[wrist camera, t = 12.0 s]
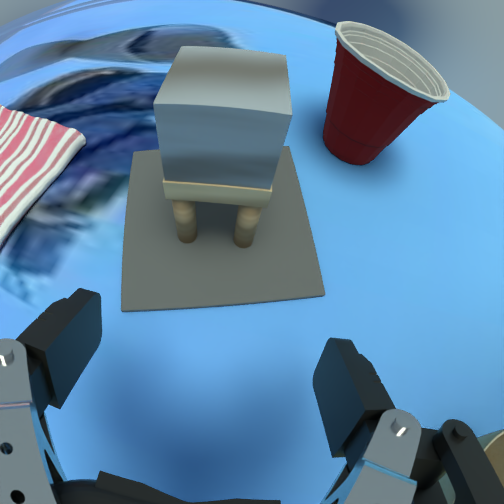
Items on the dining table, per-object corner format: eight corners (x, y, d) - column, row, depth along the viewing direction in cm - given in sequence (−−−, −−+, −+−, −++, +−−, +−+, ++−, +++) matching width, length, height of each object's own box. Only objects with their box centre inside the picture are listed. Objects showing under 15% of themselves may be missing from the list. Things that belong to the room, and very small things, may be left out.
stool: (253, 250, 21) (295, 117, 11) (175, 243, 21) (150, 105, 10) (256, 187, 24) (287, 54, 13) (186, 181, 23) (180, 45, 12)
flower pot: (476, 414, 18) (536, 408, 11) (469, 504, 14) (521, 513, 7) (391, 447, 17) (455, 460, 10) (383, 546, 12) (433, 577, 6)
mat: (288, 149, 27) (288, 146, 26) (323, 296, 21) (325, 294, 21) (134, 154, 24) (133, 151, 24) (122, 311, 19) (121, 310, 18)
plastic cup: (385, 207, 25) (458, 114, 15) (282, 150, 27) (316, 36, 16) (402, 145, 30) (451, 68, 19) (320, 100, 31) (352, 14, 20)
